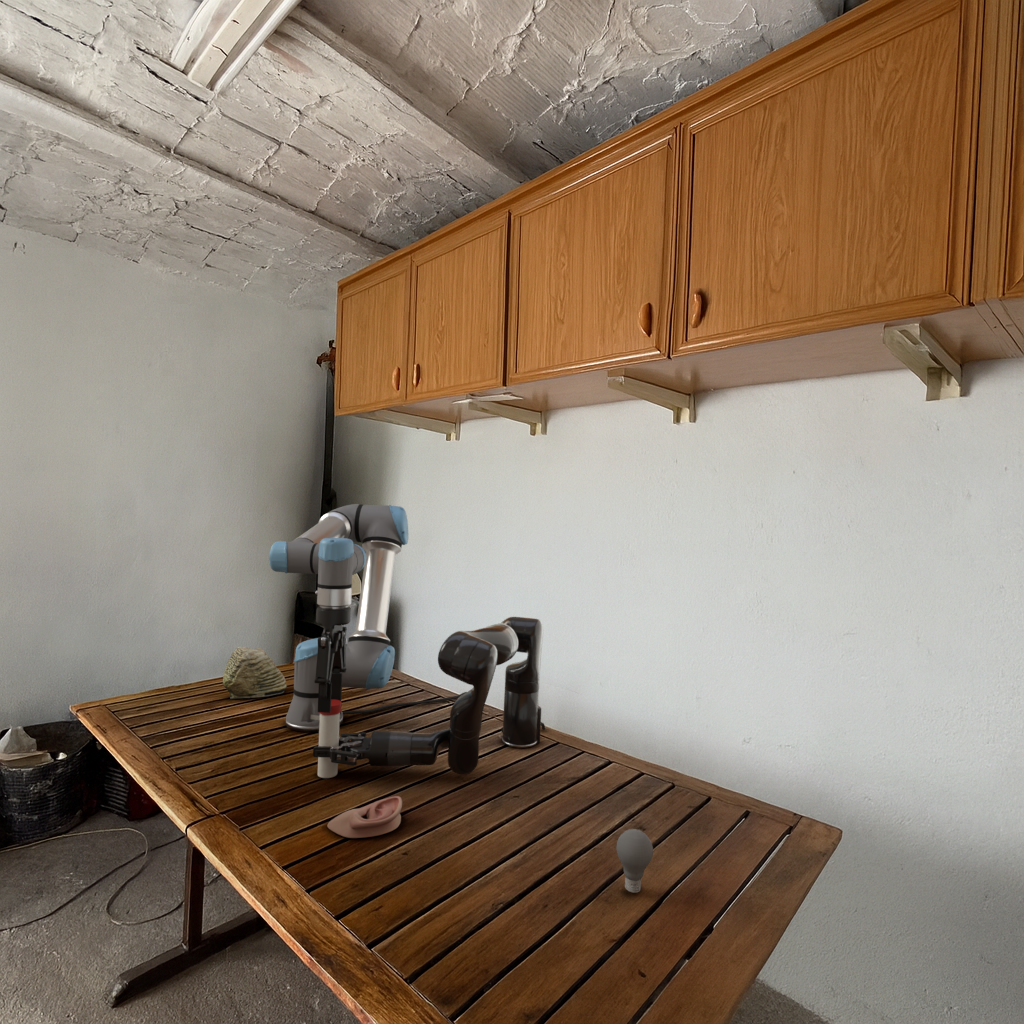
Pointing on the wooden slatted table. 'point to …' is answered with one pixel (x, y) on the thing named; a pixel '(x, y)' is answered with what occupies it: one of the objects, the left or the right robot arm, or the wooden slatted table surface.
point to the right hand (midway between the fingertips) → (316, 747)
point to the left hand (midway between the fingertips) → (329, 706)
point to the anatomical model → (369, 819)
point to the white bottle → (328, 743)
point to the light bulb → (634, 857)
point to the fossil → (252, 674)
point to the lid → (334, 707)
